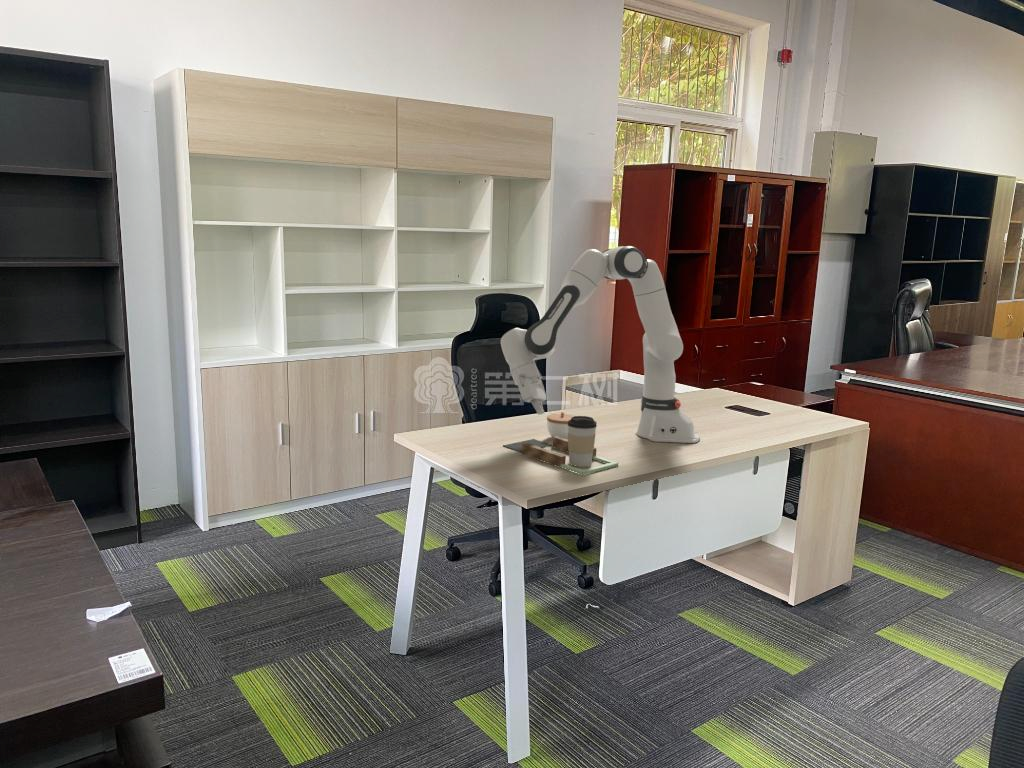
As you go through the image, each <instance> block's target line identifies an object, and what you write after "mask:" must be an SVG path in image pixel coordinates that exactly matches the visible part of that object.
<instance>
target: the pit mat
mask: <svg viewBox="0 0 1024 768" xmlns="http://www.w3.org/2000/svg"><path fill="white" fill-rule="evenodd" d="M523 443H529V444H532V445H535V446H538V447H543V448H547V447H551V446H552V444H550V443H547V442H544V441H541V440H539V439H538V440H537V439H535V438H531V439H527V440H522V441H518V442H514V443H513V442H512V443H508V444H503V445H502V447H504V448H506V449H509V448H510V450H512V449H513V451H515V450H516V452H518V451H519V452H518V453H522V444H523ZM550 445H551V446H550ZM546 446H547V447H546Z"/></svg>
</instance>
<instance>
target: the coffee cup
mask: <svg viewBox="0 0 1024 768" xmlns="http://www.w3.org/2000/svg"><path fill="white" fill-rule="evenodd" d="M597 426H598V425H597V421H595V420H594V418H593V417H591V416H588V415H587V416H586V415H574V417H572V418H571V420H569V421H568V450H569V452H568V457H569V458H568V462H569V463H570V464H572V465H571V466H573V465H576V466H575V467H577V466H587V467H589V466H588V465H590V466H592V461H593V460H592V455H593V450H594V448H595V441H596V431H597V430H596V429H597ZM569 463H568V464H569ZM570 464H569V465H570Z"/></svg>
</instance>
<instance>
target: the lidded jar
mask: <svg viewBox="0 0 1024 768" xmlns="http://www.w3.org/2000/svg"><path fill="white" fill-rule="evenodd" d="M574 416H575V415H573V414H568V413H565V412H564V411H563V412H562V411H561V412H560V413H552V414H549V415H547V416H546V423H547V424H546V425H547V432H548V434H549V435H550V437H552V438H553V437H555V436H558V437H562V438H565V439H568V421H569V420H571V418H572V417H574Z"/></svg>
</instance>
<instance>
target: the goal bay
mask: <svg viewBox="0 0 1024 768" xmlns="http://www.w3.org/2000/svg"><path fill="white" fill-rule="evenodd" d="M593 459H595V460H594V461H596V460H598V461H597V462H599V461H601V462H600V463H602V462H605V463H608V464H605V463H604V464H601V465H598V466H594V467H590V468H586V469H580V468H579V467H578V468H577V467H576V466H573V465H570V464H569V465H568V464H567V463H565V464H561V467H563V468H566V469H568V470H571V471H574V472H577V473H579V474H578V475H580V474H582V475H581V476H585V475H584V474H587V475H589V474H588V473H591V474H593V473H592V472H594V473H597V472H596V471H598V472H600V471H599V470H602V471H604V470H603V469H605V470H607V469H606V468H609V469H611V468H610V467H613V468H615V467H614V466H616V467H619V462H616V461H615V460H611V459H607V458H604V457H601V456H599V455H596V456H593ZM563 468H562V469H563ZM566 469H565V470H566ZM568 470H567V471H568ZM571 471H570V472H571ZM574 472H573V473H574ZM577 473H576V474H577Z"/></svg>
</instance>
